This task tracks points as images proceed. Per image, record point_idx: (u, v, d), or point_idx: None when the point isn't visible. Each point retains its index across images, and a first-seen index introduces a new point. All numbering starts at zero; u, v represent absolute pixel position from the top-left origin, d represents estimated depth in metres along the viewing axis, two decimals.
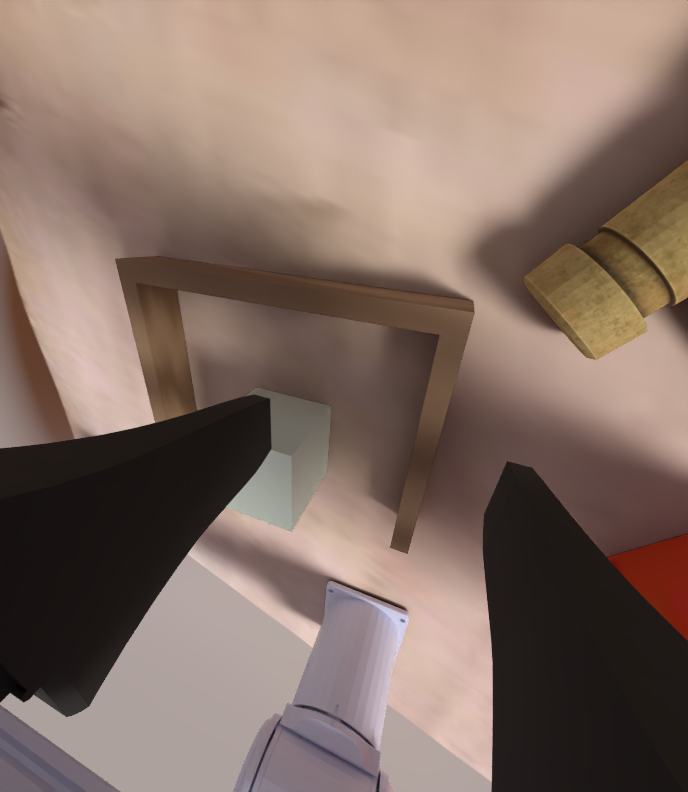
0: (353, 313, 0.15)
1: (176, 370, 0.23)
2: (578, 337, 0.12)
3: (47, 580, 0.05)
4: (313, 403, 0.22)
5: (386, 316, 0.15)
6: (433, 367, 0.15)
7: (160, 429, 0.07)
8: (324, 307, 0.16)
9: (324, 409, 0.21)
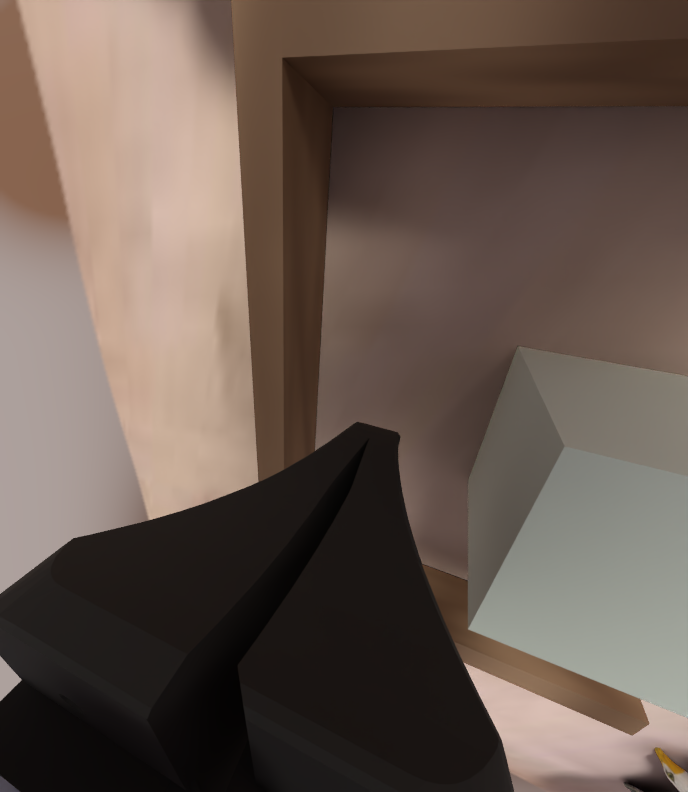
0: (273, 265, 0.09)
1: None
2: None
3: None
4: (505, 383, 0.11)
5: (267, 196, 0.08)
6: (353, 49, 0.06)
7: (300, 475, 0.06)
8: (272, 319, 0.10)
9: (517, 360, 0.10)
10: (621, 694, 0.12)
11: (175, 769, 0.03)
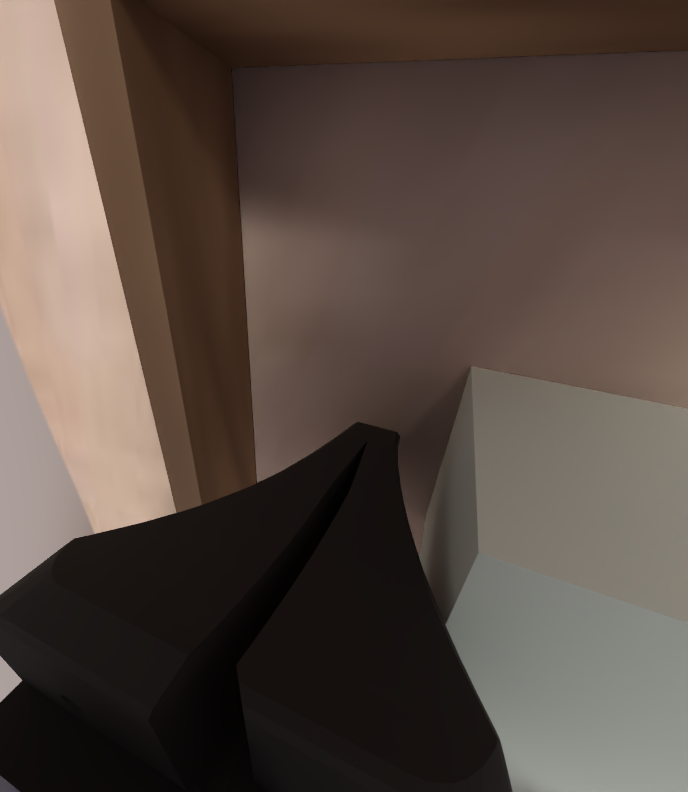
0: (147, 267, 0.07)
1: None
2: None
3: None
4: (458, 410, 0.09)
5: (125, 177, 0.06)
6: None
7: (301, 475, 0.06)
8: (158, 334, 0.08)
9: (469, 385, 0.08)
10: None
11: (176, 771, 0.03)
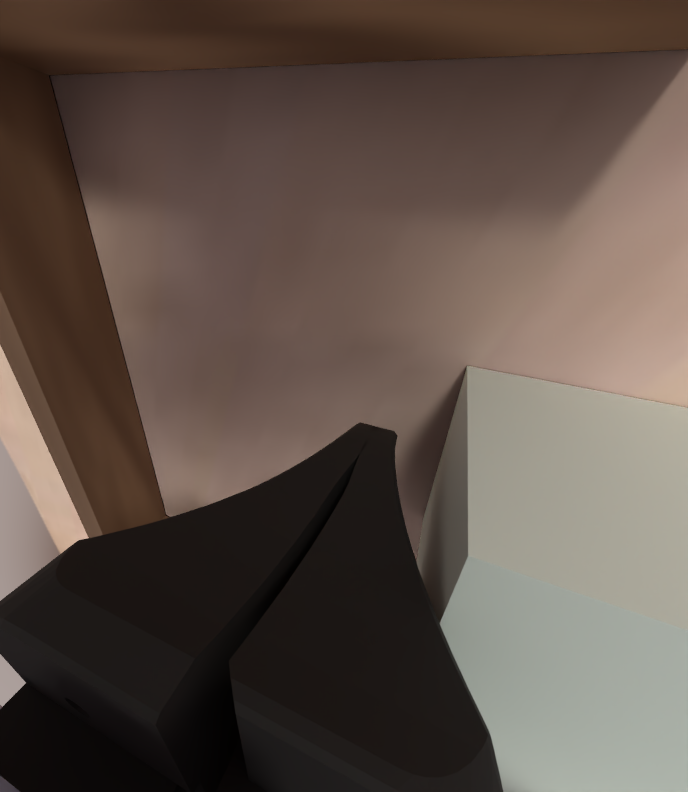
0: None
1: None
2: None
3: None
4: (455, 411, 0.09)
5: None
6: None
7: (304, 476, 0.06)
8: None
9: (464, 385, 0.08)
10: None
11: (182, 774, 0.03)
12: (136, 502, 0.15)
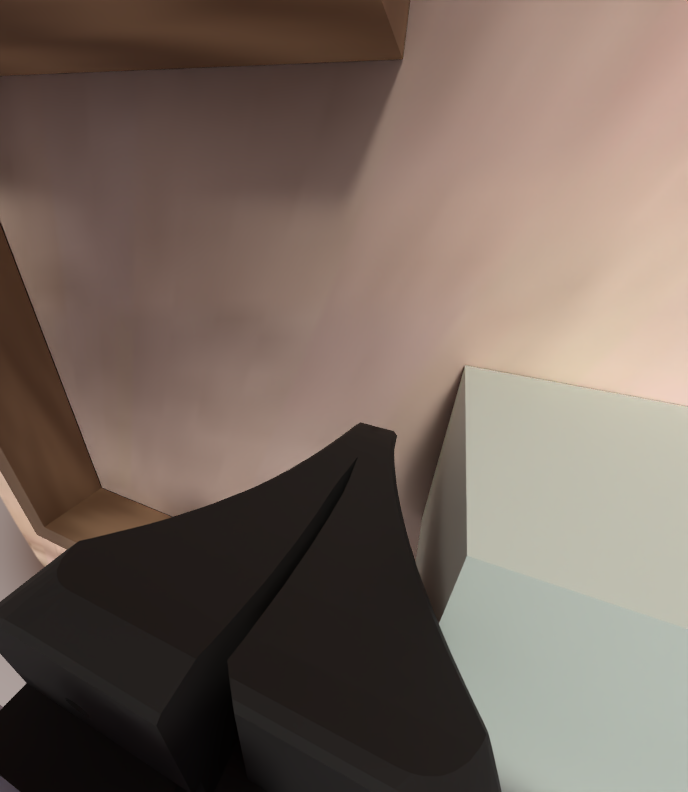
0: None
1: None
2: None
3: None
4: (453, 411, 0.09)
5: None
6: None
7: (304, 476, 0.06)
8: None
9: (462, 385, 0.08)
10: None
11: (181, 774, 0.03)
12: (65, 472, 0.17)
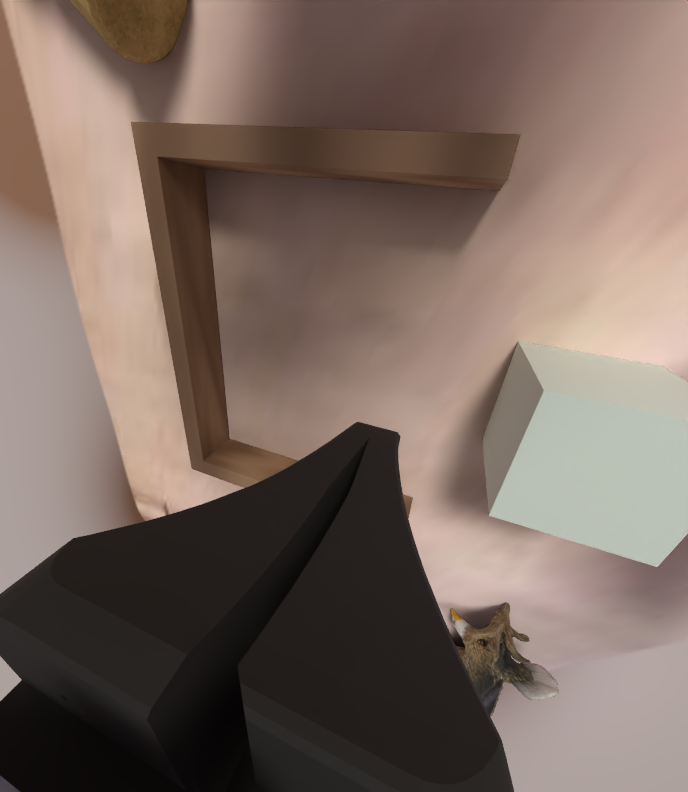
0: (167, 255, 0.16)
1: None
2: None
3: None
4: (510, 366, 0.16)
5: (159, 219, 0.16)
6: (185, 156, 0.14)
7: (300, 475, 0.06)
8: (171, 285, 0.17)
9: (518, 350, 0.15)
10: None
11: (175, 771, 0.03)
12: (216, 423, 0.23)
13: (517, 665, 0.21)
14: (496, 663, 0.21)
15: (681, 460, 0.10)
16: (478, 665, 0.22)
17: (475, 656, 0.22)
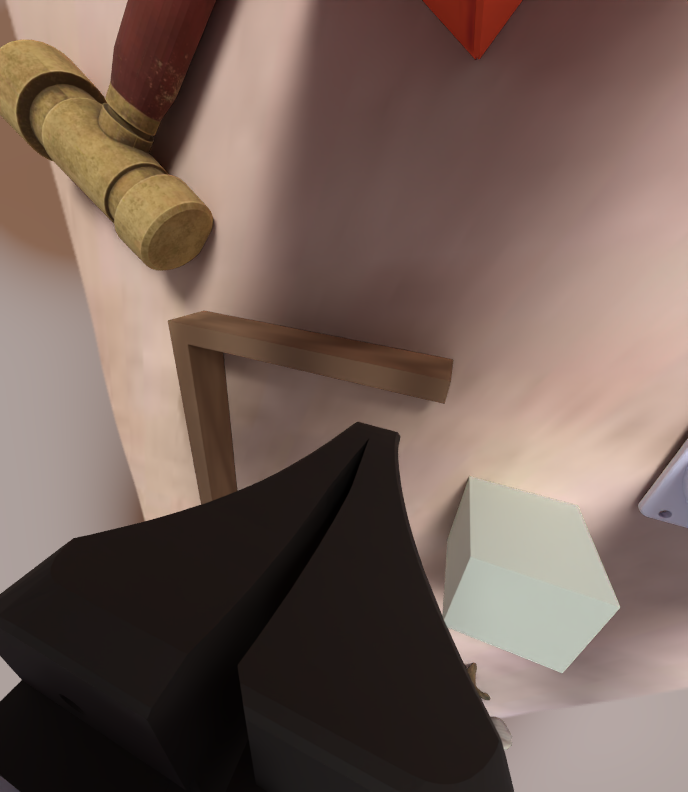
0: (193, 403, 0.21)
1: None
2: (147, 233, 0.15)
3: None
4: (464, 493, 0.20)
5: (188, 380, 0.20)
6: (209, 348, 0.18)
7: (301, 475, 0.06)
8: (195, 422, 0.21)
9: (468, 486, 0.19)
10: None
11: (175, 769, 0.03)
12: None
13: None
14: None
15: (565, 611, 0.14)
16: None
17: None
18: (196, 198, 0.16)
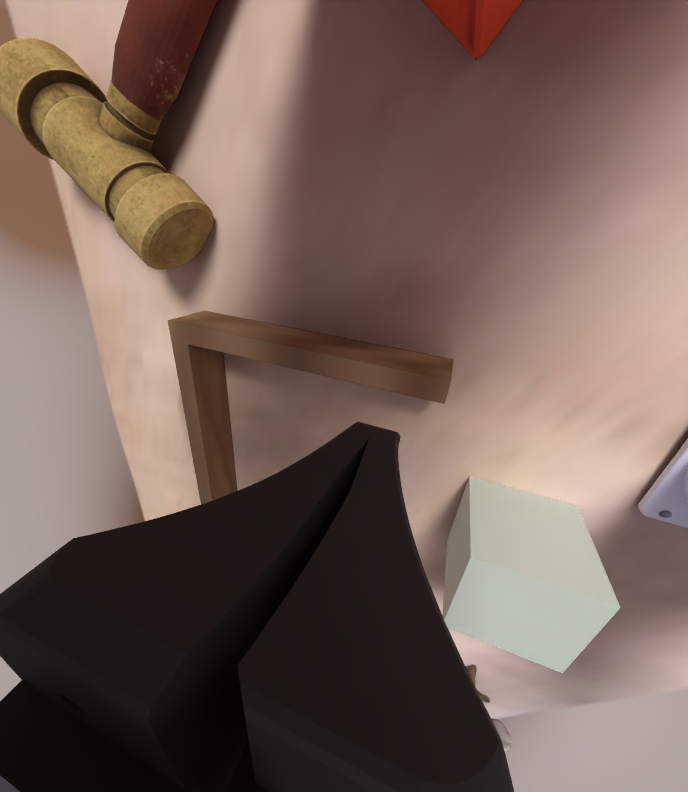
0: (193, 403, 0.21)
1: None
2: (147, 232, 0.15)
3: None
4: (464, 493, 0.20)
5: (188, 380, 0.20)
6: (209, 348, 0.18)
7: (301, 475, 0.06)
8: (195, 422, 0.21)
9: (468, 486, 0.19)
10: None
11: (175, 769, 0.03)
12: None
13: None
14: None
15: (565, 611, 0.14)
16: None
17: None
18: (197, 197, 0.16)
